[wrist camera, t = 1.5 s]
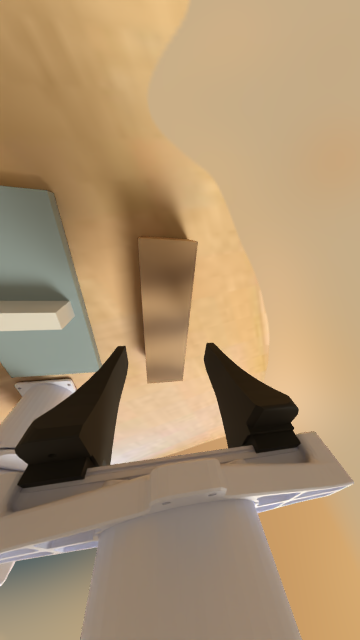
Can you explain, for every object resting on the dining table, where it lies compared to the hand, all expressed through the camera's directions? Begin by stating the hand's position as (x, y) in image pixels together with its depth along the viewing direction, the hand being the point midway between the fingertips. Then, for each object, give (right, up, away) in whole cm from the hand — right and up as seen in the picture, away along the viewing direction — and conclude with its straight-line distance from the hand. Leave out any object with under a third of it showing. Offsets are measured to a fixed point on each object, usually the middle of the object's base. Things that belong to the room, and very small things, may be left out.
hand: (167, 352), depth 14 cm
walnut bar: (-1, +4, +8) cm, 9 cm away
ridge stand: (-17, +5, +5) cm, 18 cm away
